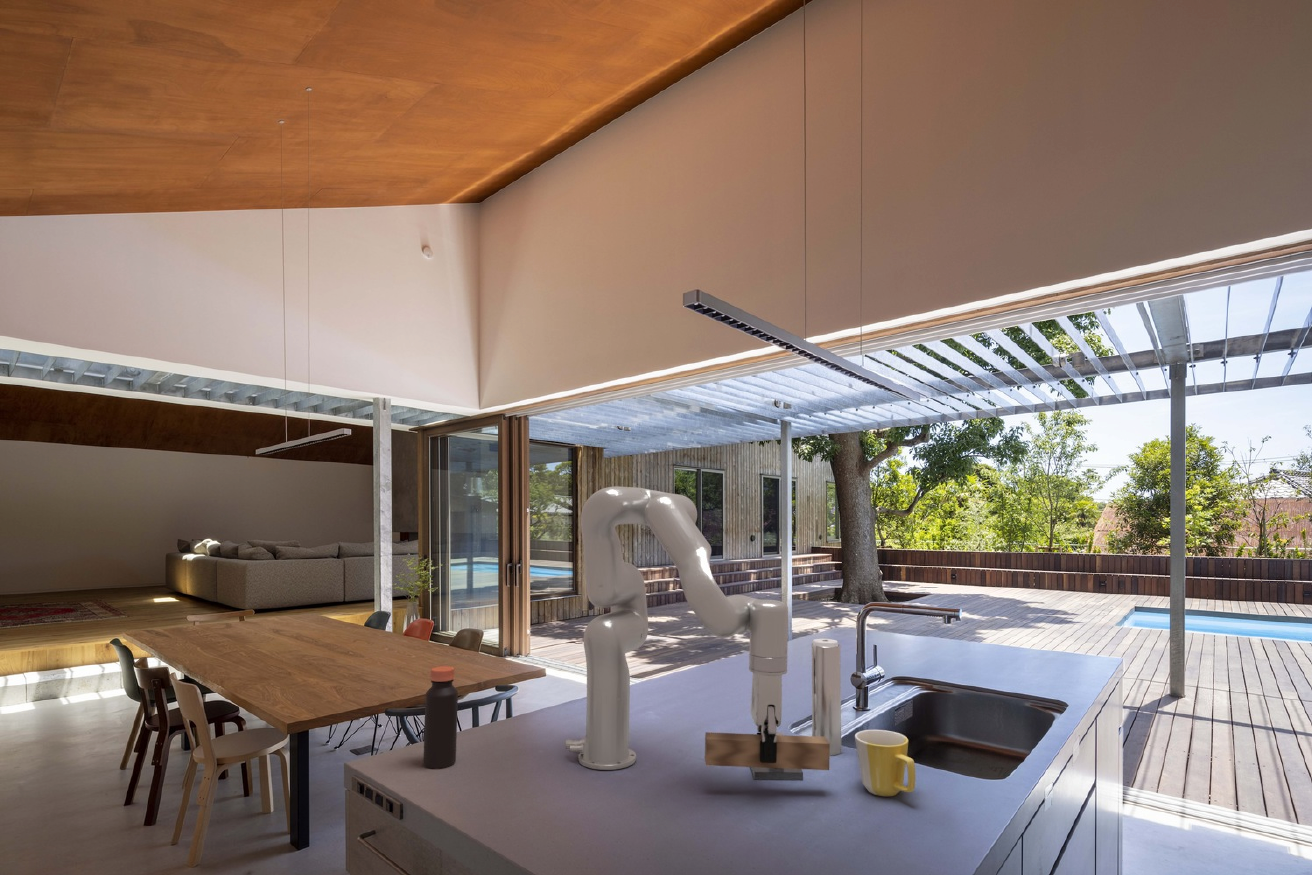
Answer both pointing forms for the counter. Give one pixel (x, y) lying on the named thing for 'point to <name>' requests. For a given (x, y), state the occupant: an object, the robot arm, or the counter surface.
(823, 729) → the silver metal cylinder
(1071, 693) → the counter surface
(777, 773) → the ridge
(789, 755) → the walnut beam
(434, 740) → the bottle
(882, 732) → the mug
